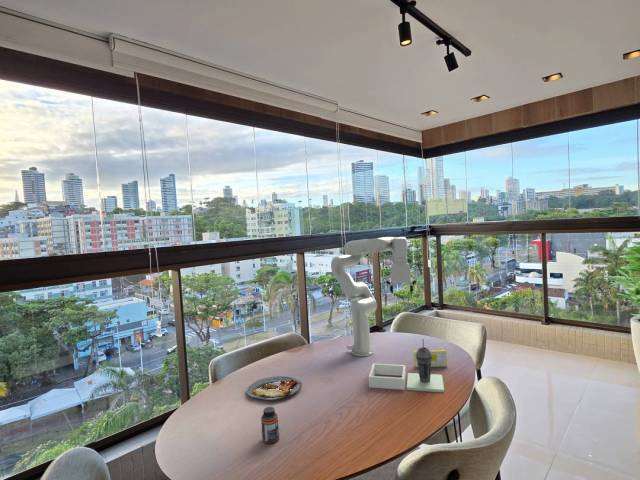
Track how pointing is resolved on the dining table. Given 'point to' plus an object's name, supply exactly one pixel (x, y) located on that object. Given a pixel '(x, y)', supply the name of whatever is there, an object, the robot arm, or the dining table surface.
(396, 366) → the bin
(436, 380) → the pad
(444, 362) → the candy box
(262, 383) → the food plate
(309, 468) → the dining table surface
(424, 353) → the beverage cup
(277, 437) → the supplement bottle
